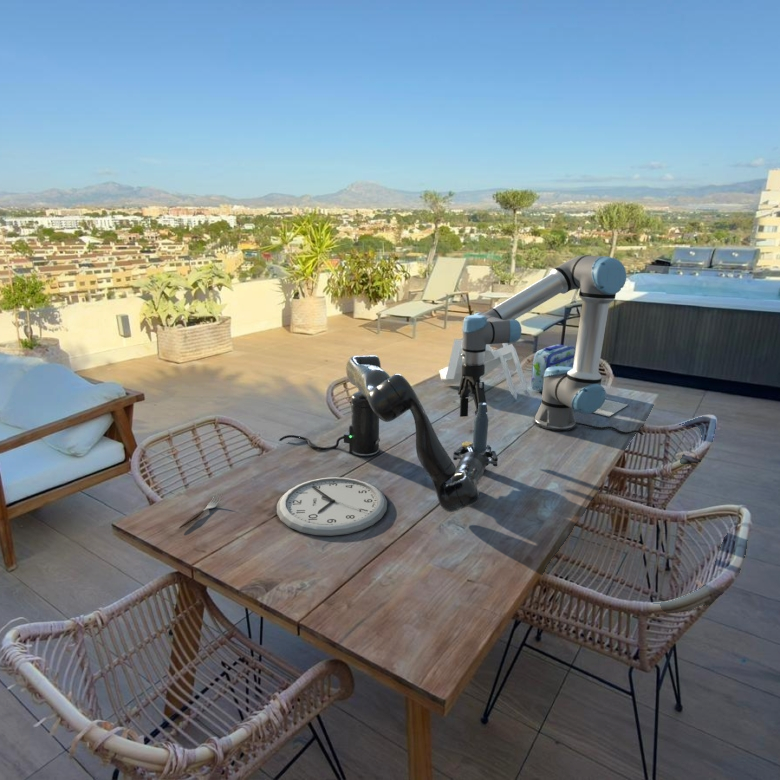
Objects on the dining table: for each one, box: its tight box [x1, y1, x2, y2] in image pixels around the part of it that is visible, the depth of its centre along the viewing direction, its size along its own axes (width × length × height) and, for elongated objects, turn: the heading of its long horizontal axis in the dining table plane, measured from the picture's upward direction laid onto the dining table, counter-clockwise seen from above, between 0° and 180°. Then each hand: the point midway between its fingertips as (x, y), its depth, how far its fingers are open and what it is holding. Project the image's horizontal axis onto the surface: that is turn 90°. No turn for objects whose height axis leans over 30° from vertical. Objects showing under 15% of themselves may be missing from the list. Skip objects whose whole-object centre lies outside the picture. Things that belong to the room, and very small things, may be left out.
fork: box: [178, 493, 223, 529], centre depth 137 cm, size 3×16×2 cm, turn 160°
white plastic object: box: [438, 338, 531, 400], centre depth 245 cm, size 37×45×31 cm
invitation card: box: [592, 398, 629, 418], centre depth 226 cm, size 21×1×15 cm
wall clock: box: [276, 476, 388, 537], centre depth 142 cm, size 30×2×30 cm
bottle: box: [472, 402, 489, 453], centre depth 162 cm, size 4×4×22 cm
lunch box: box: [530, 344, 576, 393], centre depth 247 cm, size 26×11×21 cm, turn 134°
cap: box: [461, 441, 473, 448], centre depth 181 cm, size 4×4×2 cm
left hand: (480, 446), depth 166 cm, fingers closed on bottle, 4 cm apart
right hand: (471, 423), depth 178 cm, fingers open, 13 cm apart
